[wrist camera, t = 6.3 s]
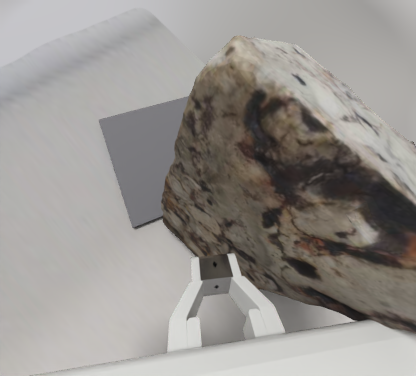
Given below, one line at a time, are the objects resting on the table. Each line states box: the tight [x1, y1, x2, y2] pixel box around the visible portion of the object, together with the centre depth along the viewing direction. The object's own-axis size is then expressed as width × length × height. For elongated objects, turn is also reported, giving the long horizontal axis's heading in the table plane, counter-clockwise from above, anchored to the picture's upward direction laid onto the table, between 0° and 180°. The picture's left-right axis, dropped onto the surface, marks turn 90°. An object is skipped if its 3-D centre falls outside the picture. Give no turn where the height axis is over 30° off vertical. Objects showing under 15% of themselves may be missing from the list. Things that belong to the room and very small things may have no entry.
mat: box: [99, 96, 189, 228], centre depth 26 cm, size 18×18×1 cm
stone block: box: [161, 36, 416, 334], centre depth 14 cm, size 13×7×20 cm, turn 51°
